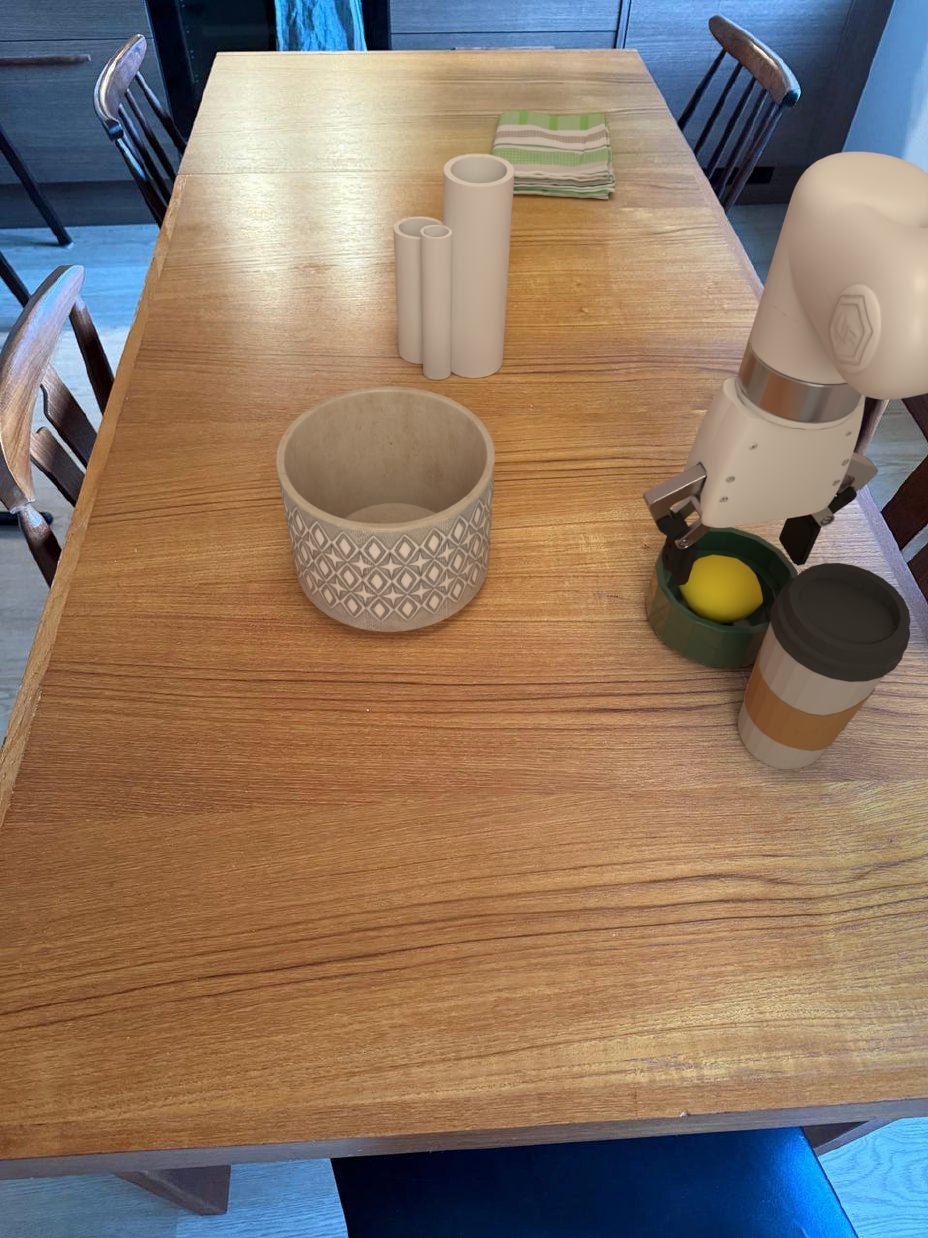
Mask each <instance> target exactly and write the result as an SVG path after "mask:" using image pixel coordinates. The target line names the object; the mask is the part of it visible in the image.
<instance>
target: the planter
mask: <svg viewBox="0 0 928 1238" xmlns="http://www.w3.org/2000/svg"><path fill="white" fill-rule="evenodd" d="M495 450H496V449H495V444H494V440H493V438H492V436H491V433H490V431H489V429H487V427H486V425H485V424H484V422H482V420H481V419H480V418H479V417H478V416H477V415H476V414H475V413H474V412H472V411H471V410H470V409H468V408H467V407H465V406H464V405H463V404H461V403H459V402H457V401H455V400H453V399H452V398H450V397H447V396H444V395H442V394H440V393H437V392H433V391H429V390H424V389H421V388H416V387H409V386H395V385H393V386H392V385H384V386H371V387H370V386H369V387H363V388H357V389H353V390H349V391H344V392H341V393H339V394H336V395H333V396H329V397H328V398H325V399H324V400H321V401H320V402H317V403H316V404H314V405H312V406H311V407H309V408H308V409H306V410H305V411H303V412H302V413H301V414H299V416H297V417H296V418H295V419H294V420H293V421H292V422H291V423H290V425H288V427H287V428H286V429H285V431H284V433H283V435H282V436H281V438H280V440H279V442H278V446H277V449H276V453H275V469H276V474H277V478H278V485H279V490H280V494H281V495H280V496H281V500H282V507H283V511H284V516H285V522H286V526H287V532H288V537H289V543H290V548H291V553H292V558H293V563H294V568H295V575H296V579H297V582H298V583H299V586H300V589H301V590H302V592H303V594H305V596H306V597H307V599H308V600H309V601H310V602H311V603H312V604H313V606H315V607H316V608H317V609H318V610H319V611H320V612H322V613H324V614H325V615H327V616H328V617H329V618H331V619H333V620H336V621H337V622H340V623H341V624H344V625H346V626H350V627H353V628H356V629H361V630H365V631H371V632H385V633H393V632H394V633H395V632H407V631H413V630H417V629H423V628H426V627H429V626H432V625H435V624H438V623H440V622H442V621H443V620H446V619H449V618H450V617H451V616H453V615H455V614H456V613H458V612H459V611H461V610H462V609H463V608H464V607H466V606H467V605H468V604H469V603H470V602H471V601H473V599H474V598H475V597H476V595H477V594H478V592H480V590H481V589H482V586H483V585H484V583H485V581H486V578H487V575H488V571H489V567H490V553H491V535H492V519H493V518H492V516H493V515H492V514H493V502H494V501H493V500H494V499H493V498H494V482H495V468H496V467H495V466H496V465H495V464H496V451H495Z"/></svg>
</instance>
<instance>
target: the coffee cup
mask: <svg viewBox="0 0 928 1238" xmlns="http://www.w3.org/2000/svg"><path fill="white" fill-rule="evenodd" d="M910 625H911V615H910V609H909V607H908V605H907V603H906V601H905V599H904V597H903V596H902V595H901V594H900V592H899V591H898V590H897V589H896V588H895V586H893V585H892V584H891V583H890V582H888V581H887V580H886V579H884V577H882V576H880V575H879V574H876V573H874V572H873V571H870V570H868V569H866V568H863V567H861V566H856V565H853V564H848V563H841V562H824V563H820V564H815V565H812V566H811V565H810V566H809V567H808V568H806V569H804V570H802V571H800V572H799V573H798V576H797V577H795V578H793V579H791V580H790V581H789V582H788V583H787V584H786V585H785V586H784V587H783V589H782V590H781V592H780V595H779V596H778V597H777V598H776V599H775V601H774V604H773V606H772V609H771V622H770V625H769V628H768V631H767V634H766V635H765V637H764V639H763V642H762V645H761V647H760V650H759V653H758V656H757V659H756V662H755V663H754V666H753V668H752V670H751V671H752V672H751V675H750V677H749V680H748V682H747V687H746V689H745V692H744V695H743V702H742V705H741V708H740V711H739V714H738V716H737V730H738V733H739V737H740V739H741V742H742V744H743V745H744V746H745V748H746V750H747V751H748V753H750V754H751V755H752V756H753V757H754V758H755V759H757V760H758V761H759V762H761V763H763V764H764V765H767V766H770V767H772V768H776V769H781V770H795V769H801V768H804V767H808V766H810V765H812V764H813V763H815V762H816V761H817V760H818V759H819V758H820V757H821V756H822V754H823V753H824V752H825V751H826V750H827V748H828V747H829V746H831V745H832V744H833V743H834V741H836V739H837V738H838V736H839V735H840V734H841V733H842V732H843V730H844V729H845V728H846V727H847V725H848V724H849V723H850V721H852V719H853V718H854V717H855V715H856V714H857V713H858V712H859V711H860V709H861V708H862V707H863V706H864V705H865V703H866V702H867V701H868V699H869V698H870V697H871V696H872V695H873V693H874V692H875V690H876V687H877V686H878V685H879V684H880V683H881V681H882V680H883V679H884V678H885V676H886V675H888V674H890V673H891V672H892V671H894V670H895V669H896V668H897V667H898V665H899V664H900V662H901V661H902V660H903V656H904V653H905V651H906V650H907V649H908V646H909V640H910V637H911V631H910Z"/></svg>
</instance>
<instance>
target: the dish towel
mask: <svg viewBox="0 0 928 1238" xmlns="http://www.w3.org/2000/svg"><path fill="white" fill-rule="evenodd" d="M606 115H607V114H606V112H592V113H587V114H569V115H568V114H567V115H550V114H547V113H541V112H535V111H532V110H531V111H530V110H514V111H506V112H503V113H501V114H499V116H498V118H497V119H498V120H497V123H496V124H497V125H496V129H495V133H494V136H493V141H492V150H491V153H490V155H493V156H497V157H500V158H502V159H505V160H507V161H508V162H509V163H510V164H511V165H512V166H513V168H514V188H513V195H529V196H530V195H532V196H533V195H538V196H545V197H547V196H548V197H549V196H550V197H563V198H564V197H565V198H569V197H572V198H578V199H589V198H590V199H591V198H592V199H599V200H609V197H610V193H615V192H616V189H615V188H616V186H617V182H616V176H615V174H616V173H615V170H614V169H615V168H614V162H613V161H614V157H613V151H612V146H611V135H610V123H609V121H607V118H606V117H607V116H606Z"/></svg>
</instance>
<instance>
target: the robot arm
mask: <svg viewBox="0 0 928 1238" xmlns="http://www.w3.org/2000/svg"><path fill="white" fill-rule="evenodd" d="M762 290H763V291H762V292H761V293H762V294H761V297H760V300H759V304H758V307H757V310H756V313H755V316H754V320H753V323H752V326H751V328H750V329H751V330H750V333H749V336H748V339H747V342H746V343H747V344H746V346H745V350H744V353H743V355H742V360H741V362H740V366H739V370H738V372H737V375H734V376H730V377H728V378H725V379H724V381H723V382H722V384H721V386H720V387H719V388H718V390H717V391H716V393H715V395H714V397H713V399H712V401H711V402H710V404H709V405H708V408H707V411H706V412H705V414H704V416H703V417H702V420H701V423H700V425H699V427H698V429H697V432H696V435H695V437H694V439H693V442H692V445H691V448H690V451H689V454H688V456H687V459H686V461H685V465H684V468H683V472H681V473H678V474H676V475H675V476H673V477H671V478H669V479H667V480H665V481H663V482H661V483H659V484H657V485H655V486H653V487H652V488H651V487H650V488H649V489H648V490H647V489H646V491H644V493H643V494H642V499H643V501H644V503H645V505H646V507H647V509H648V511H649V514H650V516H651V517H652V519H653V521H654V524H655V525H656V527H657V529H658V531H659V532H660V533H662V534H663V535H664V536H665V537H666V538H665V541H664V544H663V546H664V548H663V552H662V563H663V565H664V567H665V569H666V570H667V571H671V573H672V575H673V577H674V579H675V581H676V583H677V585H678V586H679V585H685V584H686V582H688V580H689V577H690V574H691V570H692V567H693V564H694V561H695V558H696V555H697V551H698V550H697V546H696V544H695V542H696V541H697V540H698V539H699V538H701V537H702V536H703V535H704V534H705V533H707V532H708V531H709V530H710V529H712V528H727V527H733V528H736V527H743V526H748V525H755V524H762V523H763V524H764V523H768V522H774V521H781V520H785V521H784V524H783V526H782V529H781V532H780V533H779V536H778V540H779V543H780V544H781V546H782V547H783V549H784V551H785V552H786V554H787V555H788V557H789V558H790V561H791V563H792V564H793V565H796V566H797V567H798V566H804V565H806V563H807V561H808V559H809V556H810V554H811V552H812V551H813V548H814V545H815V544H816V541H817V539H818V537H819V535H820V532H821V529H822V528H823V527H827V526H830V525H831V524H833V522H834V521H835V519H836V517H835V515H834V514H836V513H837V512H839V511H840V510H842V509H843V508H844V507H847V506H848V505H849V504H851V502H852V503H853V501H855V500H856V498H857V496H858V493H857V492H859V491H861V490H863V488H864V487H865V486H866V485H868V483H869V482H871V481H872V480H873V479H874V478H875V477H876V476H877V475H878V473H879V469H878V468H877V467H876V465H875V464H874V463H873V461H872V460H871V458H869V457H867V456H865V455H862V454H860V453H857V452H855V448H856V445H857V442H858V438H859V434H860V430H861V426H862V421H863V417H864V411H865V402H866V398H865V397H867V398H871V399H874V400H875V399H876V400H880V401H881V400H883V401H884V400H886V401H887V400H890V401H891V400H892V401H895V400H901V399H907V398H912V397H916V396H922V395H926V394H928V172H927V171H926V170H924V169H923V168H921V167H919V166H918V165H916V164H914V163H911V162H909V161H908V160H905V159H902V158H900V157H896V156H894V155H893V156H892V155H889V154H883V153H879V152H870V151H843V152H837V153H834V154H833V153H832V154H830V155H826V156H825V157H823V158H820V159H819V160H817V161H815V162H814V163H812V164H811V165H810V166H809V167H808V168H807V169H805V170H804V172H803V173H802V174H801V176H800V177H799V179H798V181H797V183H796V185H795V186H794V189H793V191H792V194H791V197H790V200H789V204H788V207H787V209H786V214H785V217H784V220H783V224H782V226H781V230H780V233H779V236H778V240H777V244H776V247H775V250H774V254H773V256H772V259H771V263H770V266H769V269H768V273H767V277H766V279H765V283H764V286H763V289H762ZM675 504H676V505H675ZM674 505H675V506H674ZM672 506H674V507H673V508H672ZM694 512H696V513H697V515H698V516H699V517H698V518H697V519H695V520H694V521H693V522H692V523H691V524H688V523H687V521H686V519H688V518H689V517H690V516H691V515H693V513H694Z"/></svg>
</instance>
